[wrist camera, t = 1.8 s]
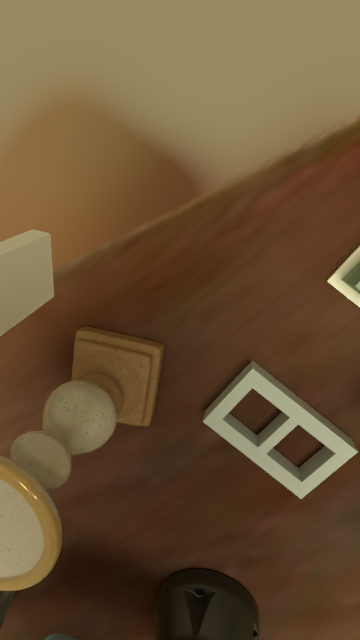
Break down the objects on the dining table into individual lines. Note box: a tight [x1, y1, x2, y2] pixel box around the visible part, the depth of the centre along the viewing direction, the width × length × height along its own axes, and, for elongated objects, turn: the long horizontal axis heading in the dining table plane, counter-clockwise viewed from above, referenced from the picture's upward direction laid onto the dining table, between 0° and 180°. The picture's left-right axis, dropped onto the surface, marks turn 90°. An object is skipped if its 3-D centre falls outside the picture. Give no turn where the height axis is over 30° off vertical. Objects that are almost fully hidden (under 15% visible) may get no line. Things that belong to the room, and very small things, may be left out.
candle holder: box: [0, 326, 164, 591], centre depth 32 cm, size 11×11×24 cm
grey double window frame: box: [203, 361, 358, 499], centre depth 40 cm, size 15×9×2 cm, turn 53°
